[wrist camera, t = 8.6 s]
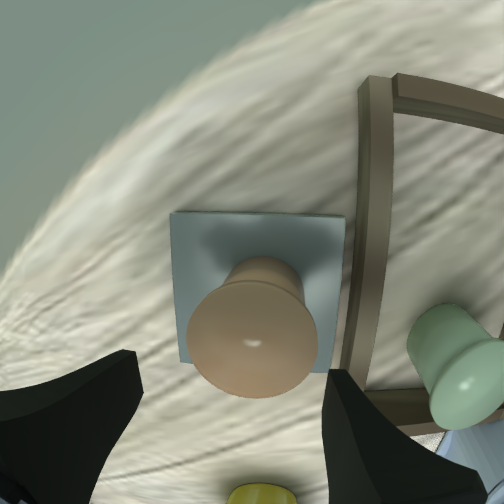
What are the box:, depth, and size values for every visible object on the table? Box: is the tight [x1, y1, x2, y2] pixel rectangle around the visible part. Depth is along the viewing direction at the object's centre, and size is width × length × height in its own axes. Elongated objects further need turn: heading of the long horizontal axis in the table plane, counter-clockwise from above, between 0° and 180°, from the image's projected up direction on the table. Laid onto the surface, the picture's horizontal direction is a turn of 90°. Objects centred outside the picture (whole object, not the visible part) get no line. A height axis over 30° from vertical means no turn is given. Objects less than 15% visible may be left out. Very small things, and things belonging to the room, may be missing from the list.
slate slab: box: [170, 212, 346, 373], centre depth 20 cm, size 10×10×1 cm
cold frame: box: [339, 73, 504, 437], centre depth 16 cm, size 21×14×4 cm
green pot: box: [407, 304, 504, 430], centre depth 16 cm, size 6×6×6 cm
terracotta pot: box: [186, 256, 318, 398], centre depth 16 cm, size 6×6×6 cm
